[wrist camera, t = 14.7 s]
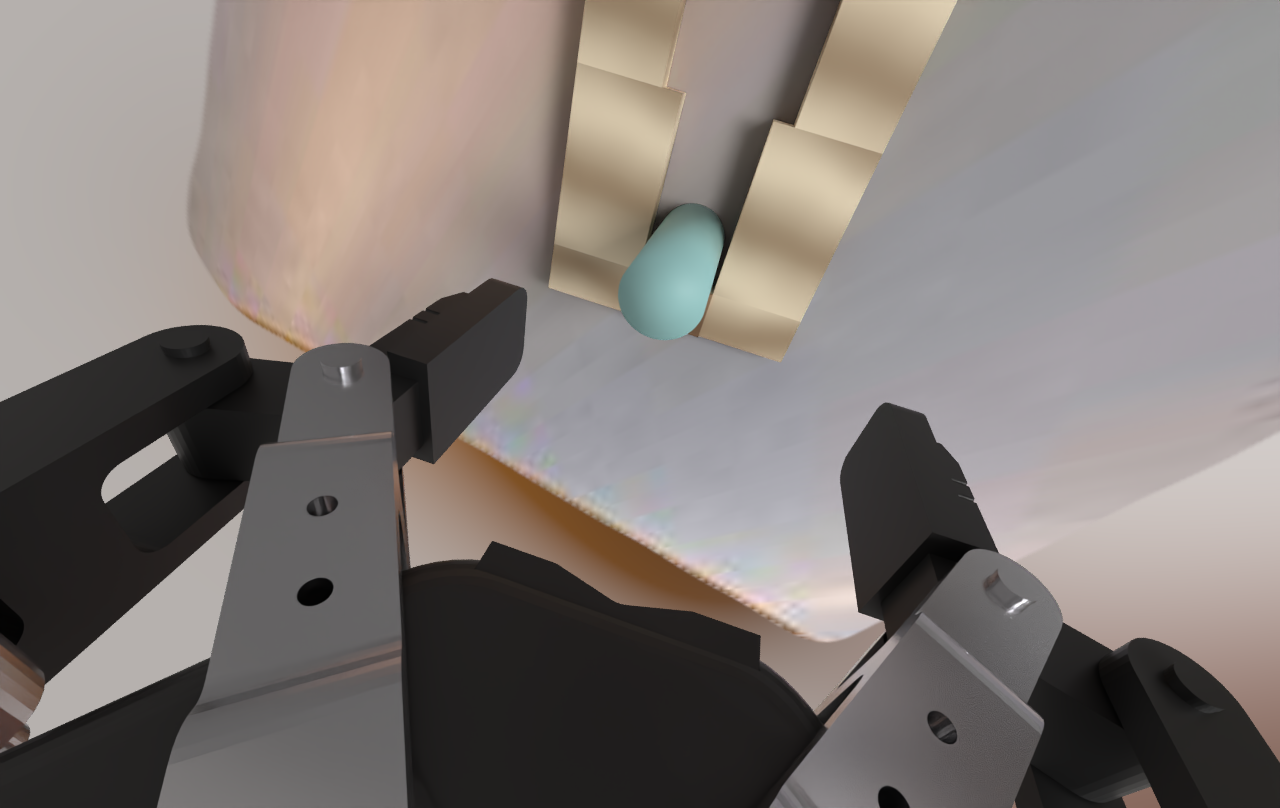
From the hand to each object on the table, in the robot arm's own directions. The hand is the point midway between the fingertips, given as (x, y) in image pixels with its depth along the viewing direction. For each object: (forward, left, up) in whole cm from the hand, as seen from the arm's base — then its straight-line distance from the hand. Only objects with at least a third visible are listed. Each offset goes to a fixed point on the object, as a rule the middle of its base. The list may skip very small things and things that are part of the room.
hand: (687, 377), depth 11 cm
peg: (+2, +3, -21) cm, 21 cm away
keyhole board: (+2, -2, -21) cm, 21 cm away
